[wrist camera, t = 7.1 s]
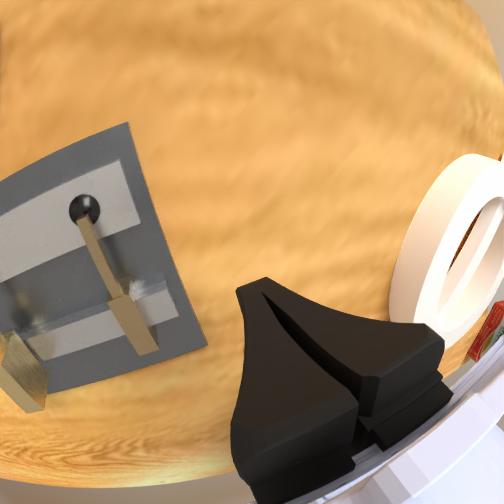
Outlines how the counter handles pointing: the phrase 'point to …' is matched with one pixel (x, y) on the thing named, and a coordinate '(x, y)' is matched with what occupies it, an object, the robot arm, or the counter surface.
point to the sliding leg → (22, 374)
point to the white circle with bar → (452, 250)
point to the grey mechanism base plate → (90, 265)
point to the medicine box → (488, 332)
